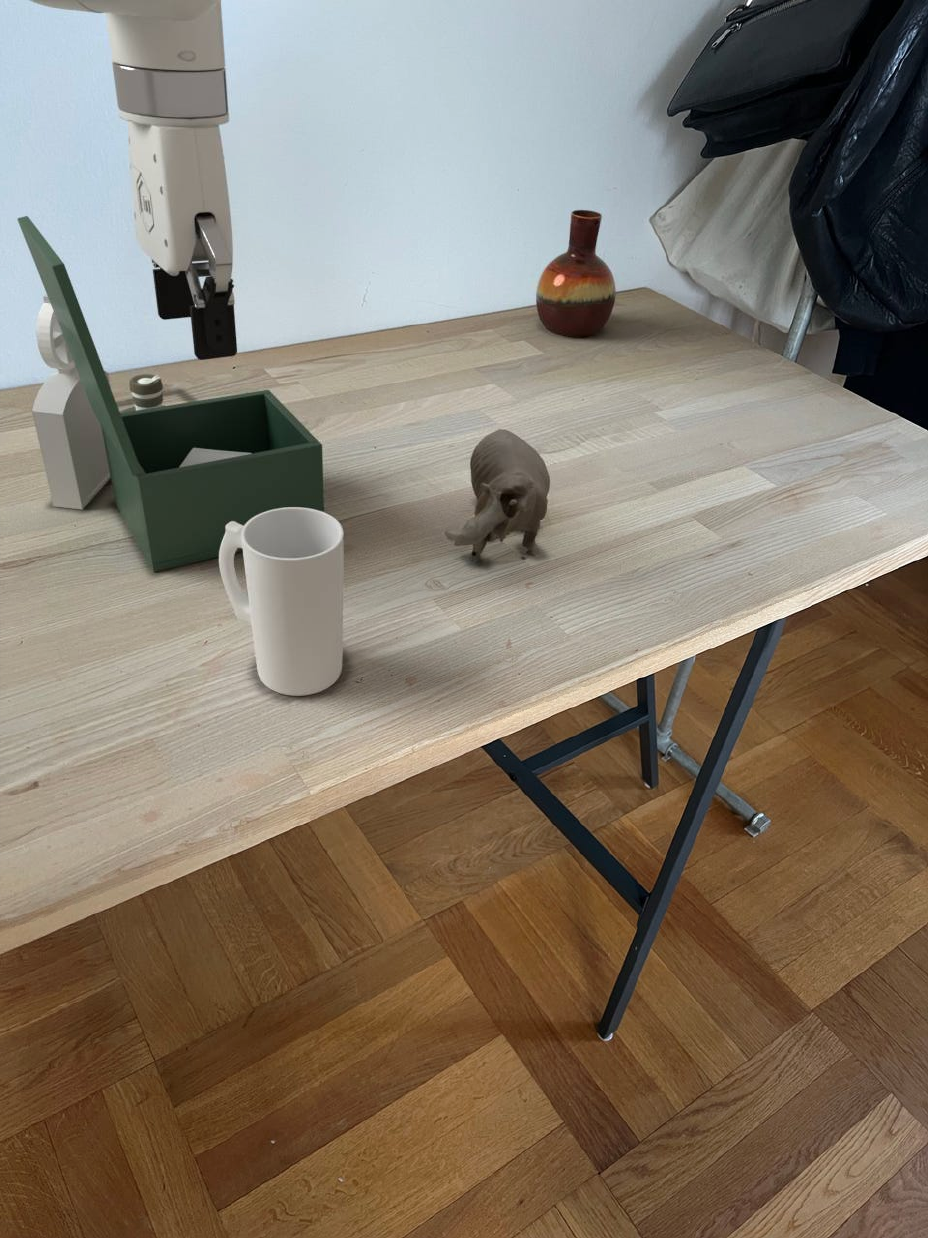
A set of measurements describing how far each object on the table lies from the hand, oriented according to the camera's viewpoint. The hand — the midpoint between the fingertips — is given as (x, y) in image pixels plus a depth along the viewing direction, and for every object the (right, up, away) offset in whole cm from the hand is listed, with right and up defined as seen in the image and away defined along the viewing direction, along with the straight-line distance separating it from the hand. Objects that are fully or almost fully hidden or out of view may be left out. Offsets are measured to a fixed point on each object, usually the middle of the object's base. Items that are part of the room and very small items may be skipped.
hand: (196, 335), depth 75 cm
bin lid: (-7, -2, -4) cm, 8 cm away
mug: (+8, -26, -5) cm, 28 cm away
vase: (+37, +19, +58) cm, 71 cm away
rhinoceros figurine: (+25, -16, +10) cm, 31 cm away
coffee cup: (-12, -2, +26) cm, 28 cm away
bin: (-1, -14, +11) cm, 17 cm away
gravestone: (-14, -10, +14) cm, 22 cm away
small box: (-1, -13, +10) cm, 17 cm away
